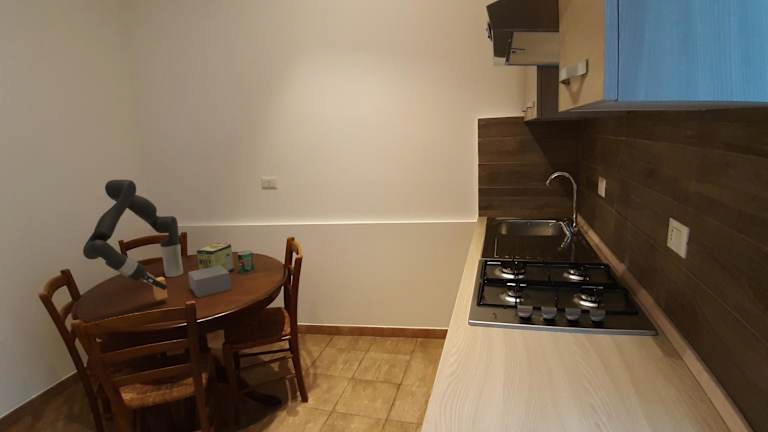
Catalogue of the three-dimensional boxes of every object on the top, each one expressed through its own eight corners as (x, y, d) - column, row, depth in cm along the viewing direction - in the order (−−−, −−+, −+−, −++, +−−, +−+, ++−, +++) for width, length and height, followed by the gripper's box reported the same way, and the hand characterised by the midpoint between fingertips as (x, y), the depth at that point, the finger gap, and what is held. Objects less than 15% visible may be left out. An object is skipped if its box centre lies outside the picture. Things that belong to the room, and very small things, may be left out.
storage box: (190, 289, 223) (188, 272, 221) (222, 281, 232) (220, 265, 230) (197, 298, 210) (195, 280, 208) (231, 289, 219) (229, 272, 217)
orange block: (154, 297, 206) (151, 279, 204) (164, 294, 209) (161, 276, 207) (157, 299, 202) (154, 281, 200) (167, 297, 205) (164, 278, 203)
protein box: (199, 277, 239) (196, 250, 236) (220, 268, 253) (216, 242, 250) (215, 279, 235) (211, 251, 232) (234, 270, 249) (231, 243, 246)
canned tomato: (257, 269, 248) (255, 251, 245) (247, 274, 241) (245, 255, 239) (246, 268, 251) (244, 250, 249) (236, 272, 244) (234, 253, 242)
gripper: (141, 264, 191) (174, 283, 202) (132, 258, 202) (164, 276, 212) (129, 279, 189) (163, 297, 199) (121, 272, 199) (154, 290, 210)
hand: (164, 286), depth 206 cm, fingers closed on orange block, 4 cm apart
